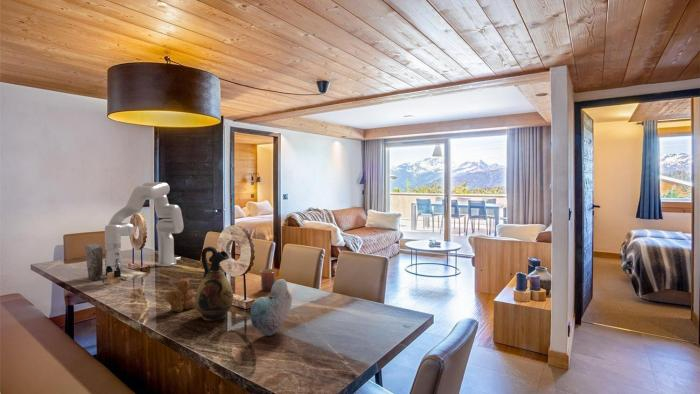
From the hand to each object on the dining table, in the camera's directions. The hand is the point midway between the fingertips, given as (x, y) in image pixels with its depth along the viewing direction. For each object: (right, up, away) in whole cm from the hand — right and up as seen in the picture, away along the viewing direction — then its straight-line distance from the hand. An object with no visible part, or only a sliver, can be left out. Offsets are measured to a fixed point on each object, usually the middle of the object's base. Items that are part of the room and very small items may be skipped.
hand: (113, 276), depth 205 cm
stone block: (-17, -4, +9) cm, 20 cm away
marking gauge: (-1, -4, -1) cm, 4 cm away
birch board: (-2, -3, +16) cm, 17 cm away
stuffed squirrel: (+59, -6, -41) cm, 72 cm away
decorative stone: (+106, -7, -68) cm, 126 cm away
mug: (+92, -5, -11) cm, 92 cm away
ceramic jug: (+76, -6, -51) cm, 92 cm away
